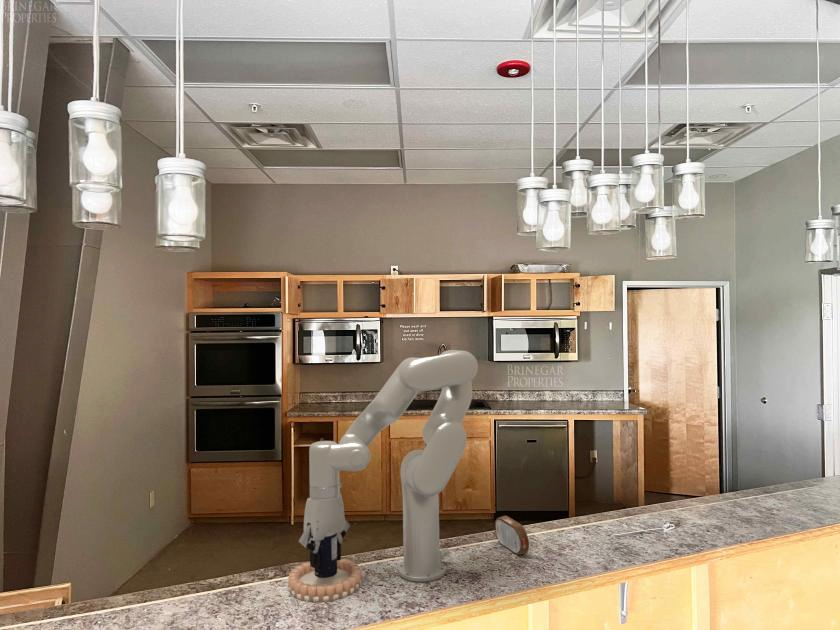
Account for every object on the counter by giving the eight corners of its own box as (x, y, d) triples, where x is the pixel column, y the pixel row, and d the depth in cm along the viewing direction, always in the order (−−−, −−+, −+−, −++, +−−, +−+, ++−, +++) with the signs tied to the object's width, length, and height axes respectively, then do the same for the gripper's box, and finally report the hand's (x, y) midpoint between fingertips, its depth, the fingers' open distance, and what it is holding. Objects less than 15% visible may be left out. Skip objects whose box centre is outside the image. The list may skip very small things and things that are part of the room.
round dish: (330, 563, 149) (330, 552, 149) (376, 582, 137) (376, 570, 137) (273, 586, 136) (273, 574, 136) (318, 609, 124) (318, 596, 124)
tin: (530, 558, 151) (529, 527, 151) (520, 559, 149) (519, 529, 150) (502, 539, 165) (502, 511, 165) (493, 541, 163) (493, 513, 164)
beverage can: (327, 569, 140) (326, 522, 141) (342, 575, 137) (341, 527, 137) (309, 577, 136) (309, 529, 137) (324, 583, 132) (324, 533, 133)
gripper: (341, 481, 146) (342, 549, 146) (287, 496, 133) (288, 570, 133) (359, 486, 141) (361, 556, 141) (305, 501, 129) (306, 579, 128)
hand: (325, 562), depth 137 cm, fingers open, 5 cm apart
